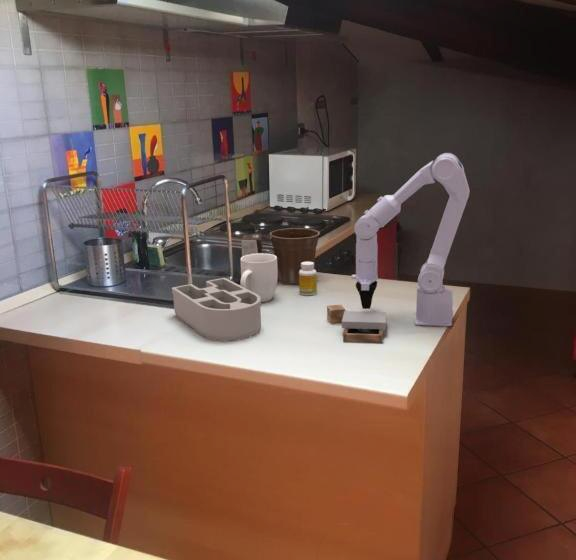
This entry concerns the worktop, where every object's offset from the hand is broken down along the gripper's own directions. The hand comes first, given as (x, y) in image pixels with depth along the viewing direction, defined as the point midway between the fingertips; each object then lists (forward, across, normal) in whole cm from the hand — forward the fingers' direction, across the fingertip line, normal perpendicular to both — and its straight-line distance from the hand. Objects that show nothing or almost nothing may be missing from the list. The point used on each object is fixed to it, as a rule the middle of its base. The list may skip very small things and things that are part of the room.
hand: (366, 307), depth 174 cm
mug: (+3, -12, -33) cm, 35 cm away
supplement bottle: (+3, -20, -19) cm, 28 cm away
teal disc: (+3, +10, 0) cm, 10 cm away
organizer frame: (+3, +12, 0) cm, 12 cm away
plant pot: (+3, -34, -25) cm, 42 cm away
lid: (+1, +10, 0) cm, 10 cm away
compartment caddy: (+3, +9, -39) cm, 40 cm away
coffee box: (+3, -28, -38) cm, 47 cm away
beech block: (+3, +4, -8) cm, 9 cm away
